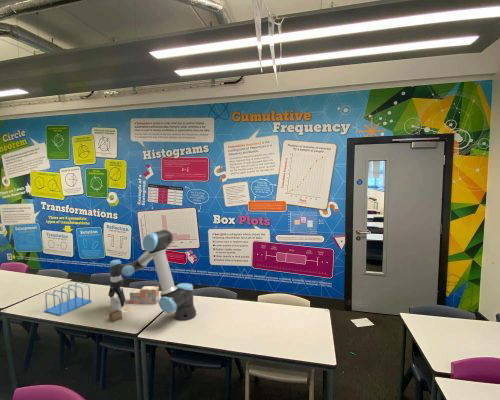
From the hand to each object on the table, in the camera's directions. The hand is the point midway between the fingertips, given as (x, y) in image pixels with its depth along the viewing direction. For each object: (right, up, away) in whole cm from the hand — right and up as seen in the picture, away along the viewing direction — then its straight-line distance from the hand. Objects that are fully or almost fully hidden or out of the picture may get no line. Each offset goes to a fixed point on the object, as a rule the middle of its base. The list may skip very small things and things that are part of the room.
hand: (117, 307), depth 204 cm
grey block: (0, -1, 0) cm, 1 cm away
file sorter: (-40, -2, +4) cm, 40 cm away
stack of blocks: (+16, -1, +12) cm, 20 cm away
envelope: (+2, -2, -2) cm, 4 cm away
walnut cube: (+7, -3, -15) cm, 17 cm away
